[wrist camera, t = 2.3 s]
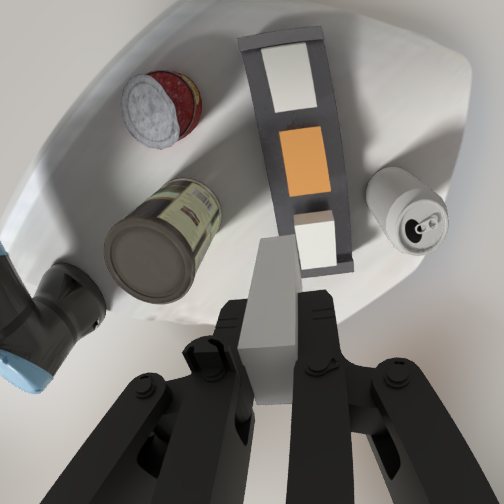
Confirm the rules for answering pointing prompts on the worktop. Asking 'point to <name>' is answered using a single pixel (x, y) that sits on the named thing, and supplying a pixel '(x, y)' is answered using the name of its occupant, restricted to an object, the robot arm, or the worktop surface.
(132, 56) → the worktop surface
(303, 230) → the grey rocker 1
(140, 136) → the canned food
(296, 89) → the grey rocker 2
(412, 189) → the can
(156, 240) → the coffee can
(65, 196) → the worktop surface
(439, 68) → the worktop surface
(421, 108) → the worktop surface
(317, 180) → the orange rectangular block
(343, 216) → the dark grey tray
